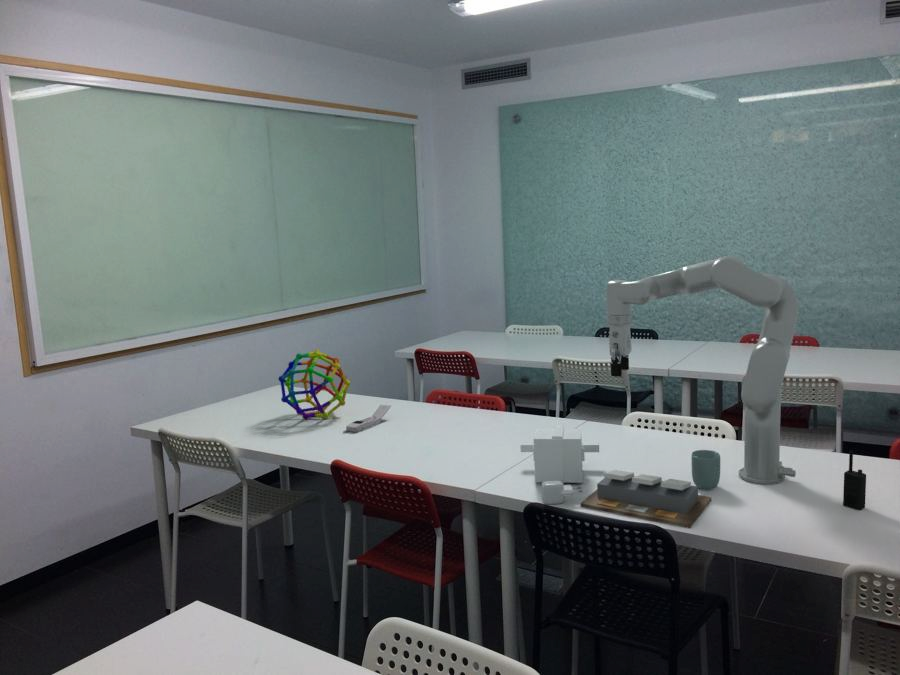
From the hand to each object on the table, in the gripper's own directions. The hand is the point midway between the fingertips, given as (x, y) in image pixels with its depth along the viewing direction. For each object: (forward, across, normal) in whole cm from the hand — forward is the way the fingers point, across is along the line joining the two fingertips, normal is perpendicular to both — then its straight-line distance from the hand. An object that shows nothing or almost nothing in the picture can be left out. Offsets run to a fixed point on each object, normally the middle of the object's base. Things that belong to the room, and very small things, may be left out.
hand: (620, 372), depth 227 cm
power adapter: (+30, -38, +8) cm, 49 cm away
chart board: (+29, -32, -14) cm, 46 cm away
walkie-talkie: (+30, -17, -65) cm, 73 cm away
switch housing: (+29, -31, -14) cm, 45 cm away
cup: (+30, -15, -28) cm, 43 cm away
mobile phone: (+30, +12, +106) cm, 111 cm away
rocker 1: (+23, -30, -6) cm, 39 cm away
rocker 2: (+23, -31, -14) cm, 41 cm away
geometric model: (+29, +16, +136) cm, 140 cm away
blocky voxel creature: (+30, -14, +17) cm, 37 cm away
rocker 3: (+23, -32, -22) cm, 46 cm away
